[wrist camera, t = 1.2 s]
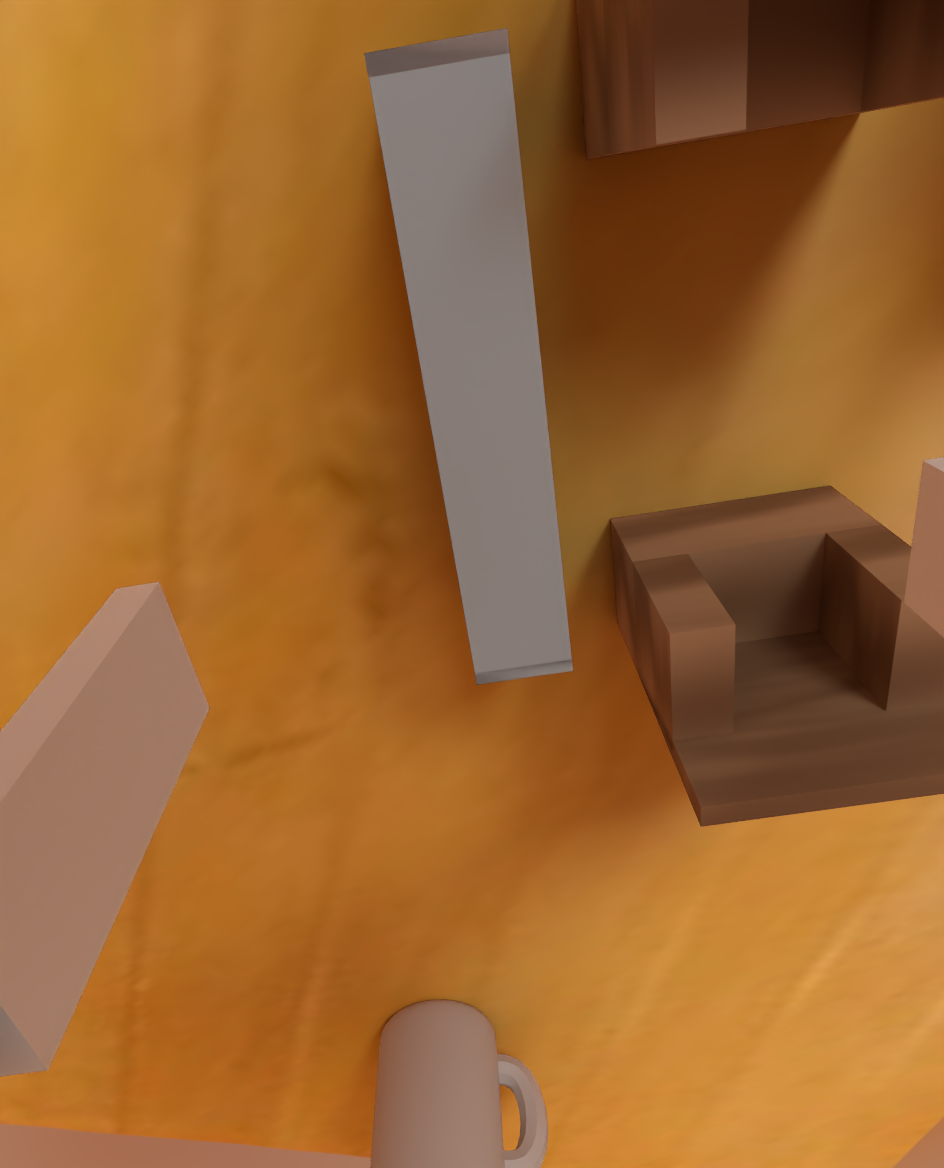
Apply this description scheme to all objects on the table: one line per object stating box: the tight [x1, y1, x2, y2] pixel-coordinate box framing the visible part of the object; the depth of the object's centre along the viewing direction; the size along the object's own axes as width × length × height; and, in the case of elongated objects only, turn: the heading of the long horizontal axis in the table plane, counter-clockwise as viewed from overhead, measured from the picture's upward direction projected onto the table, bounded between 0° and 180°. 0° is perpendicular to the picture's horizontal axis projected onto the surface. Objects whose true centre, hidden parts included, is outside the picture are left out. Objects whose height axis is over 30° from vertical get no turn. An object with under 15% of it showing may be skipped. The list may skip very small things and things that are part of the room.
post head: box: [576, 0, 944, 159], centre depth 18 cm, size 5×9×12 cm, turn 99°
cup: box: [370, 1000, 548, 1168], centre depth 43 cm, size 7×10×9 cm
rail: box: [364, 28, 573, 685], centre depth 25 cm, size 19×4×6 cm, turn 8°
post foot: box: [610, 486, 944, 826], centre depth 26 cm, size 5×9×12 cm, turn 99°
